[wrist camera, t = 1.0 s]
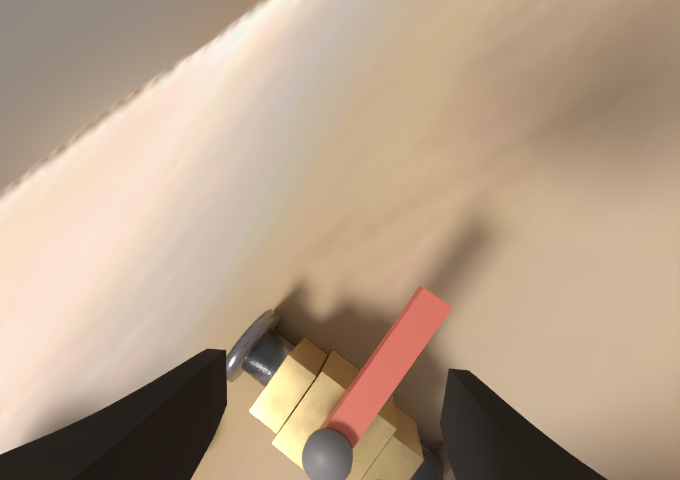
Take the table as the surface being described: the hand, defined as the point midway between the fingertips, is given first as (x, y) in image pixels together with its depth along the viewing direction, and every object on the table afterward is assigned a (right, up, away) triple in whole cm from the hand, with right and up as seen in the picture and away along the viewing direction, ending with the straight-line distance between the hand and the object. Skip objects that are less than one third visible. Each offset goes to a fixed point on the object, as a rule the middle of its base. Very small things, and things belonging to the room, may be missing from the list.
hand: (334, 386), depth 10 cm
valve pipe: (0, -9, +17) cm, 19 cm away
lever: (+3, -4, +10) cm, 11 cm away
